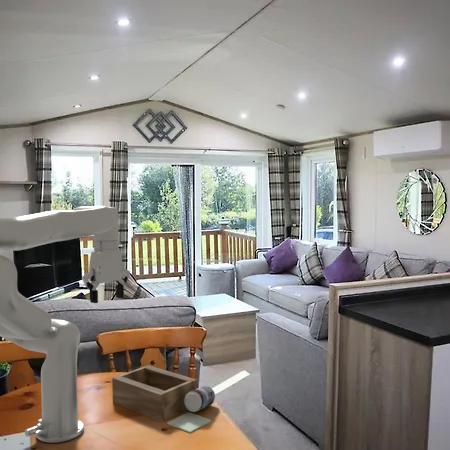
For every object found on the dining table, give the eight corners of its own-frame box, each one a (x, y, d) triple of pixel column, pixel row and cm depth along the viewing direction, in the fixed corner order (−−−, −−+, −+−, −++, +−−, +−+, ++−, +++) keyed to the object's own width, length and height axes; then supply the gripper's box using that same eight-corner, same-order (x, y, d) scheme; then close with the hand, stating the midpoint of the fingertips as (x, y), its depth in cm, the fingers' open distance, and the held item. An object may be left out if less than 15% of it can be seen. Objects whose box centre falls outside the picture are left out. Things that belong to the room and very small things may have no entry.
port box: (161, 421, 139) (160, 394, 139) (112, 402, 154) (112, 377, 153) (196, 404, 151) (196, 379, 151) (148, 388, 165) (148, 365, 165)
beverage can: (187, 388, 142) (206, 377, 153) (177, 408, 143) (196, 396, 154) (204, 400, 139) (222, 388, 150) (193, 421, 141) (212, 407, 152)
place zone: (190, 433, 132) (190, 431, 132) (167, 423, 138) (167, 422, 138) (211, 421, 139) (211, 420, 139) (188, 413, 145) (188, 411, 145)
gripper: (121, 243, 160) (122, 294, 160) (75, 247, 147) (76, 303, 147) (135, 244, 155) (136, 297, 155) (89, 248, 142) (90, 306, 142)
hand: (107, 300), depth 151 cm, fingers open, 9 cm apart
